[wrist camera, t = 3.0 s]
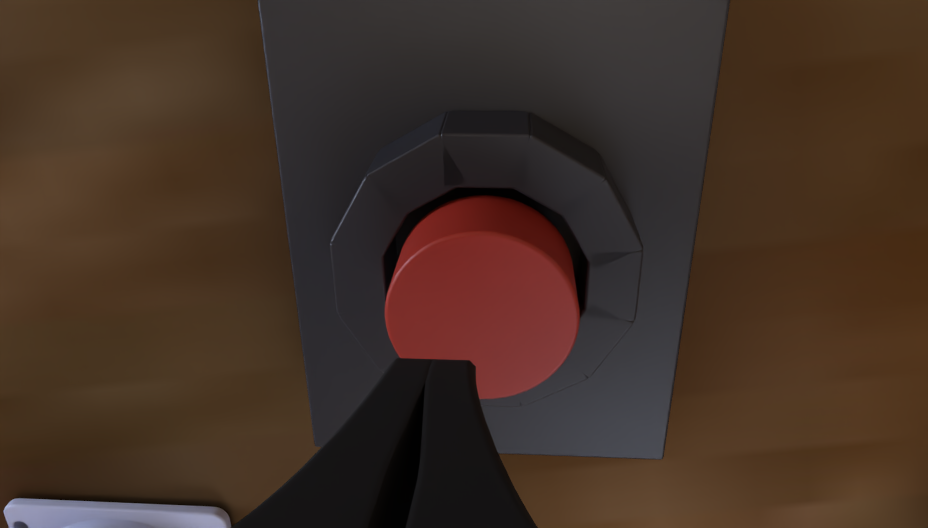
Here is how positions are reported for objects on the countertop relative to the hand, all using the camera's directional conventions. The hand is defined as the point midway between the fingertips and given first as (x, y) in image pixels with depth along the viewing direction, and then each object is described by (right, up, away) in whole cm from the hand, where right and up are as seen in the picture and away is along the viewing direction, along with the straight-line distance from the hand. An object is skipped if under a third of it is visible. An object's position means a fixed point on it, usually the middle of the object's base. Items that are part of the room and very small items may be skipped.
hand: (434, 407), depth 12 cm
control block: (+1, +4, +8) cm, 9 cm away
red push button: (+1, +2, +4) cm, 5 cm away
